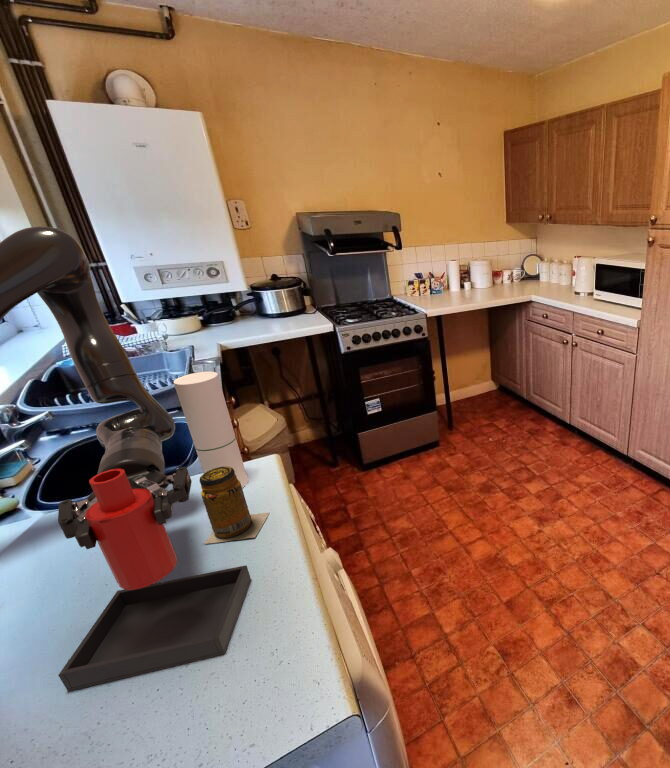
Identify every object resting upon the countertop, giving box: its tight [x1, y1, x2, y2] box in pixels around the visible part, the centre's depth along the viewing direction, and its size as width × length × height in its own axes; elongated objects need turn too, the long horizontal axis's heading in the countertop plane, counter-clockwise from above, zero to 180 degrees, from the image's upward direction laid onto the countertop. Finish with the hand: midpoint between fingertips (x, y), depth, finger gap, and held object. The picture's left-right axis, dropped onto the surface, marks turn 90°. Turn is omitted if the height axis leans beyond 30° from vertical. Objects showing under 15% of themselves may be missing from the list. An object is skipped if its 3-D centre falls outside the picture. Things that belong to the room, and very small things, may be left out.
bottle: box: [85, 469, 178, 590], centre depth 55 cm, size 6×6×15 cm
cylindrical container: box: [173, 371, 249, 489], centre depth 89 cm, size 7×7×25 cm
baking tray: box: [58, 565, 252, 692], centre depth 61 cm, size 17×13×3 cm
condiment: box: [199, 466, 270, 545], centre depth 79 cm, size 7×8×12 cm
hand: (125, 529), depth 53 cm, fingers closed on bottle, 6 cm apart
